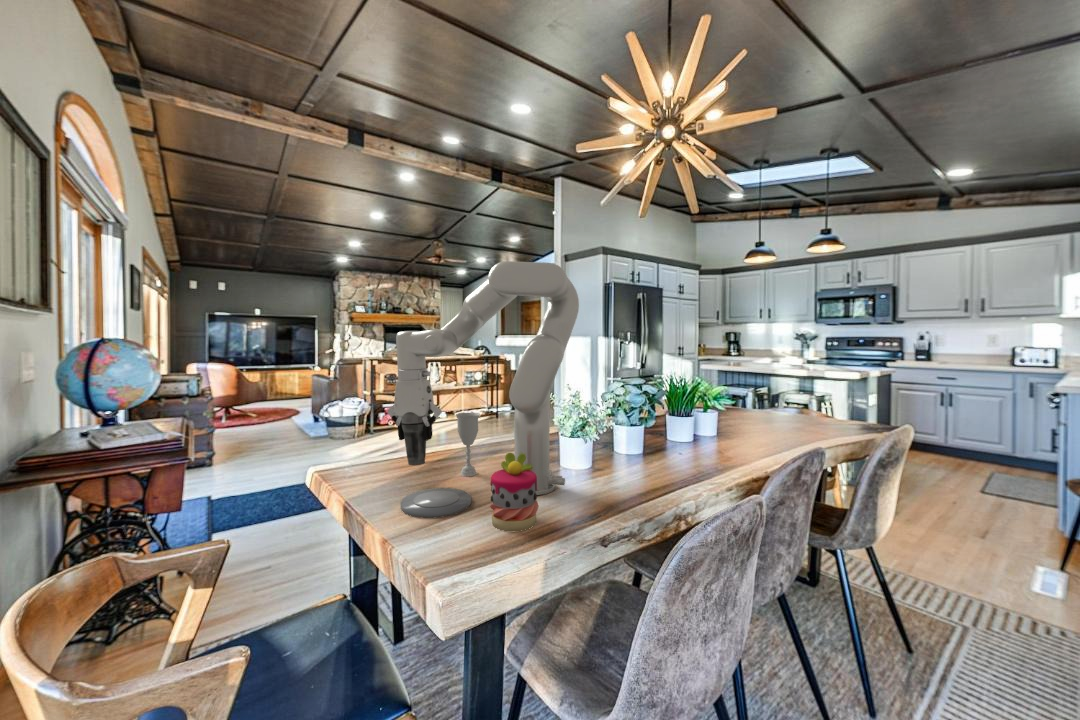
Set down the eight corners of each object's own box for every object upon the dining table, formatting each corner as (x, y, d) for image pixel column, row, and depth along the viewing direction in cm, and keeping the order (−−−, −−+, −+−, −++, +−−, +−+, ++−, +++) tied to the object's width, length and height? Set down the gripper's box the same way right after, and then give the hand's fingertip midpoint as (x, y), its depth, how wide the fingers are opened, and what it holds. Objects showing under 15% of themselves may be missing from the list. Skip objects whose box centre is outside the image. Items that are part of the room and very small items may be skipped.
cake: (544, 528, 101) (544, 460, 100) (497, 535, 97) (496, 465, 96) (528, 510, 110) (528, 448, 109) (485, 517, 107) (484, 453, 106)
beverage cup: (433, 459, 132) (430, 389, 131) (424, 466, 125) (421, 393, 124) (409, 459, 133) (405, 390, 132) (398, 467, 126) (395, 393, 125)
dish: (481, 495, 121) (481, 489, 121) (453, 521, 104) (453, 514, 104) (422, 490, 125) (422, 484, 125) (386, 514, 109) (386, 507, 108)
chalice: (451, 475, 138) (451, 415, 137) (463, 469, 144) (463, 412, 143) (473, 478, 135) (472, 417, 134) (484, 472, 141) (484, 413, 140)
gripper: (447, 374, 129) (450, 437, 130) (391, 374, 133) (394, 435, 134) (434, 376, 122) (437, 443, 123) (376, 377, 126) (380, 441, 127)
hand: (415, 438), depth 129 cm, fingers closed on beverage cup, 7 cm apart
